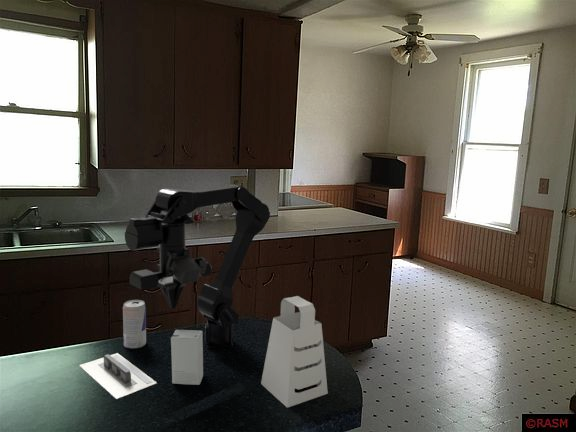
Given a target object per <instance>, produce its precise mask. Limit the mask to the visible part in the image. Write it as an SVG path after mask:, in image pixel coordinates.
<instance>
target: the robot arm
mask: <svg viewBox="0 0 576 432" xmlns="http://www.w3.org/2000/svg"><path fill="white" fill-rule="evenodd" d="M228 203H230V205H231V207H232V208H233V209H234V211H235V212H237V213H236V215H235V227H236V229H235V232H234V235H233V237H232V239H231V242H230V244H229V246H228V249H227V250H226V253H225V255H224V258H223V259H222V262H221V265H220V266H219V269H218V272H217V274H216V276H215V278H214V280H213V281H211V283H210V284H206V283H204V284H203V285H202V287H201V291H200V293H199V295H198V296H197V298H196V299H198V300H197V304H196V306H197V309H198V311H199V312H200V313H201V316H202V318H203V319H206V320H207V323H206V324H205V325H204V343H205V344H206V348H207V349H220V348H221V349H224V348H233V345H234V344H233V326H234V325H235V324H237V323H238V321H239V317H240V315H239V313H237V312H236V311H235V310H234V309H233V308H232V305H233V302H234V296H233V295H234V294H233V288H234V284H235V282H236V279H237V277H238V275H239V272H240V270H241V268H242V266H243V264H244V261H245V259H246V256H247V254H248V252H249V249H250V246H251V245H252V243H253V240H254V237H255V236H257V235H258V234H259V233H260V232H262V230H263V229H264V228H265V227H266V225H267V223H268V221H269V219H270V217H271V212H270V208H269V207H268V205H267V204H266V203H263V202H262V201H261V200H260V199H259V198H257V197H256V196H255V195H253V194H252V193H250V191H248V189H247V188H246V187H245V186H244V185H239V184H229V185H226V186H225V185H223V186H215V187H210V188H209V187H208V188H202V189H195V190H189V189H188V190H187V189H179V188H162V189H160V190H159V191H158V193H157V194H156V197H155V200H154V202H153V203H152V206H151V207H150V208H149V210H148V211H147V213H146V215H145V217H141V218H135V217H133V218H130V219H129V224H128V225H127V227H126V229H125V232H124V241H125V244H126V247H127V248H128V249H129V250H130V251H132V252H133V251H138V250H145V249H152V248H156V252H157V253H159V264H156V270H159V271H156V272H154V271H152V270H149V269H147V268H146V269H141V270H136V271H132V272H131V274H130V276H129V285H130V286H133V287H135V288H137V289H139V290H141V291H145V290H146V291H147V290H151V289H154V288H157V286H158V287H159V289H160V290H161V292H162V294H163V295H164V298H165V300H166V303H167V305H168V307H169V308H170V309H171V310H174V309H176V307H177V305H178V303H179V300H180V297H181V295H182V292H183V290H184V288H185V286H187V285H188V284H190V283H192V282H194V283H195V282H198V281H199V278H200V277H207V276H211V275H212V274H213V271H212V270H213V267H212V264H210V262H208V261H207V259H206V258H205V257H203V256H201V257H197V258H191V256H190V251H189V248H187V247H186V225H191V224H194V223H195V220H194V219H192V218H191V217H190V216H189V214H192V213H193V212H194V211H196V210H197V209H200V208H204V207H209V206H215V205H222V204H228Z"/></svg>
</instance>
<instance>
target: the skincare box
mask: <svg viewBox="0 0 576 432" xmlns="http://www.w3.org/2000/svg"><path fill="white" fill-rule="evenodd" d="M203 334H204V333H203V330H194V329H193V330H192V329H191V330H190V329H175V330H174V332H173V334H172V335H171V337H170V346H171V349H170V352H171V353H170V355H171V383H172V384H174V385H175V384H177V385H195V386H196V385H197V386H199V385H201V382H202V380H203V377H204V354H203V353H204V349H203Z"/></svg>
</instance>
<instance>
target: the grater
mask: <svg viewBox="0 0 576 432" xmlns="http://www.w3.org/2000/svg"><path fill="white" fill-rule="evenodd" d="M295 306H296V307H297V308H298V312H295V311H296V310H295V309H296V307H295ZM314 306H315V305H314V304H313V303H312V302H310V301H308V300H306V299H304V298H302V297H301V296H299V295H296V296H292V297H290V296H289V297H284V298H283V299H282V300H281V302H280V315H279V316H275V317H272V318H273V319H272V323H271V327H270V328H271V329H270V334H269V339H268V344H267V348H266V349H267V350H266V354H265V360H264V365H263V371H262V376H261V381H260V384H261V386H263V387H264V388H265V389H266V390H267V391H268V392H269V393H270V394H271V395H273V396H274V397H275V398H276V399H277V400H278V401H279V402H280V403H281V404H283V405H284V406H285V408H290V407H293V406H297V405H299V404H301V403H305V402H308V401H310V400H313V399H316V398H318V397H319V398H320V397H323V396H325V395H327V394H329V392H328V383H327V371H326V361H325V349H324V337H323V335H324V334H323V328H322V326H323V325H322V322H320V321H318V320H316V318H315V317H316V308H315V307H314ZM315 345H316V346H315ZM310 347H311V348H310ZM314 385H316V387H315V386H314ZM312 386H314V387H313V388H310V389H307V390H304V391H299V390H302V389H304V388H308V387H312ZM295 390H298V391H299V392H296V391H295Z"/></svg>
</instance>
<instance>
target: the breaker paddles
mask: <svg viewBox="0 0 576 432" xmlns="http://www.w3.org/2000/svg"><path fill="white" fill-rule="evenodd" d="M110 355H111V354H109V353H107V354H104V366H105V367H106V368H107V369H111V368H112V373H113V374H115V375H116V376H119V375H121V380H122V381H123V382H124V383H125V384H126V383H129V382H131V373H130V371H129V370H128V369H127V368H125V367H124V366H123V365H122V364H120V363H119V362H118V361H116V360H115V359H114V358H113V357H111V356H110Z"/></svg>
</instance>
